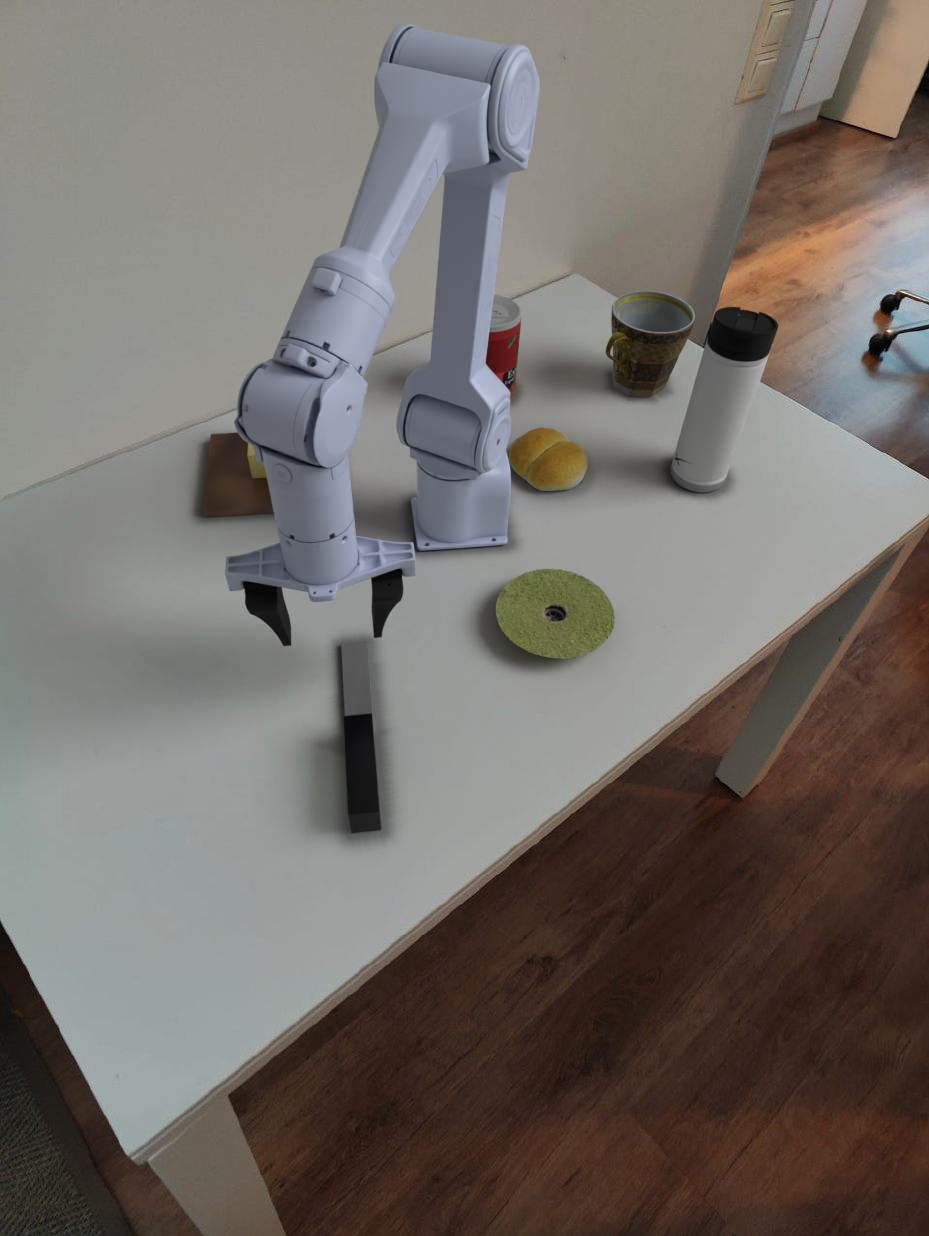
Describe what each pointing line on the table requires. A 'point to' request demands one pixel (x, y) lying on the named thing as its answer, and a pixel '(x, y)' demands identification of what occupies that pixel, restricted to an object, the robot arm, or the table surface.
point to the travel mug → (722, 397)
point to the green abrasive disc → (555, 613)
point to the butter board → (233, 480)
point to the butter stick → (255, 464)
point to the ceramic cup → (647, 340)
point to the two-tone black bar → (359, 740)
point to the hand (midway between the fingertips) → (332, 632)
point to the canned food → (504, 340)
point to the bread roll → (548, 460)
